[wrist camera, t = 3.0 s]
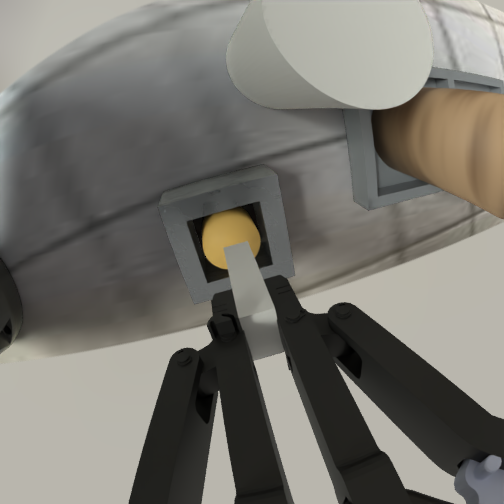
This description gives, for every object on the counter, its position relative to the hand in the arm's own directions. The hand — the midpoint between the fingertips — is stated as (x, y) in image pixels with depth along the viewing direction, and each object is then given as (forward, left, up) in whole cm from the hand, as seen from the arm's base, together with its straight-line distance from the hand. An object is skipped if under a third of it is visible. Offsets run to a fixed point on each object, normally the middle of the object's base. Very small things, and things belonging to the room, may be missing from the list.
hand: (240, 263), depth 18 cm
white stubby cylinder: (+7, +12, -7) cm, 16 cm away
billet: (+17, +5, -6) cm, 19 cm away
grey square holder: (0, 0, -7) cm, 7 cm away
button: (0, 0, -6) cm, 6 cm away
